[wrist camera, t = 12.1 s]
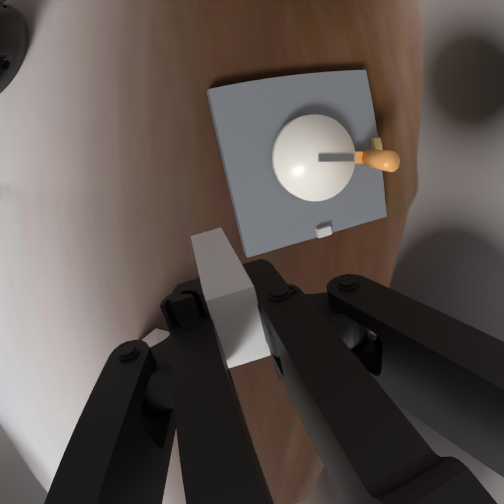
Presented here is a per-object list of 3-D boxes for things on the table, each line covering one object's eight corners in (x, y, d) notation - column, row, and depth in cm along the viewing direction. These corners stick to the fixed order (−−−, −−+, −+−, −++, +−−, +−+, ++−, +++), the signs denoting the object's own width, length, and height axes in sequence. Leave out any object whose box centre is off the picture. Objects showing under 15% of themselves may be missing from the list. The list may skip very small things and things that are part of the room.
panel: (206, 91, 37) (208, 88, 34) (358, 71, 40) (368, 69, 37) (244, 252, 45) (248, 259, 42) (379, 213, 48) (389, 217, 45)
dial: (272, 201, 41) (289, 213, 35) (269, 114, 37) (287, 110, 31) (370, 195, 44) (397, 204, 38) (371, 118, 40) (399, 118, 34)
